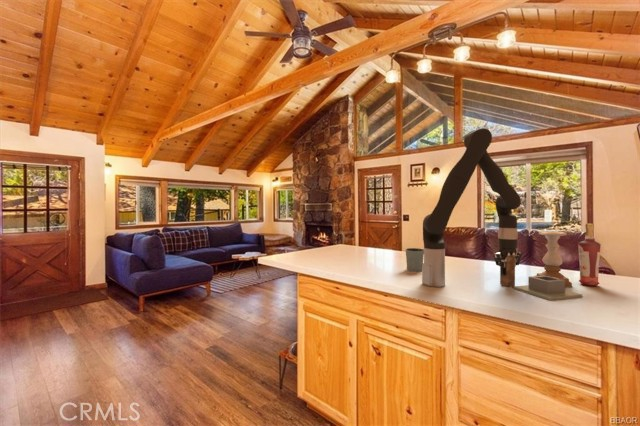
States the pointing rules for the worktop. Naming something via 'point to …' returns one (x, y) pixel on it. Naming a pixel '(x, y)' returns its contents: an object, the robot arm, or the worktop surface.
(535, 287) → the box on flat tray
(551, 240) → the candle holder
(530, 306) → the worktop surface
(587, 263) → the liquor
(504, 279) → the wooden peg
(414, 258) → the grey-green tapered pot
